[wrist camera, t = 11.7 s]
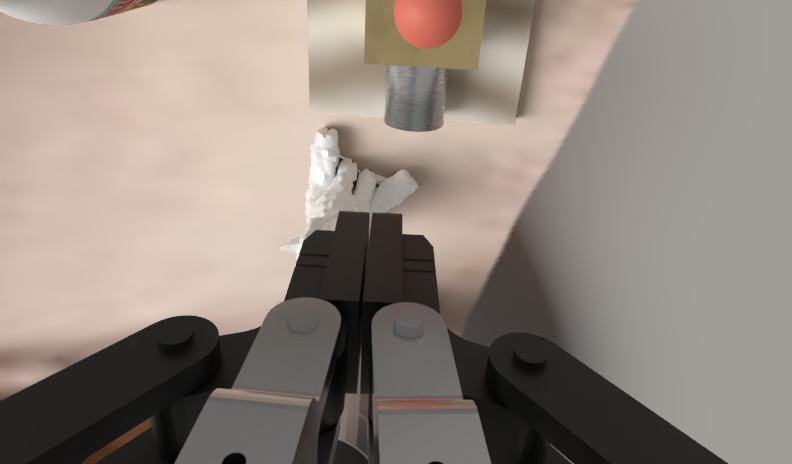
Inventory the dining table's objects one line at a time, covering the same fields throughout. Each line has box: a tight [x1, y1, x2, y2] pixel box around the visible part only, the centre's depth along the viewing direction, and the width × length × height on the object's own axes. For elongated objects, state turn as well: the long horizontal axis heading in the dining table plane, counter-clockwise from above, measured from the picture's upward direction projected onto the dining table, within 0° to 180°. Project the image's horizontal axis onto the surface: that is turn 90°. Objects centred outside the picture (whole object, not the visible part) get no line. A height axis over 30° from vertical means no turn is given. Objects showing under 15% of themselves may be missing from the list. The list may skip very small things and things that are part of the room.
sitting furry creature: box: [279, 128, 418, 260], centre depth 41 cm, size 10×9×12 cm
